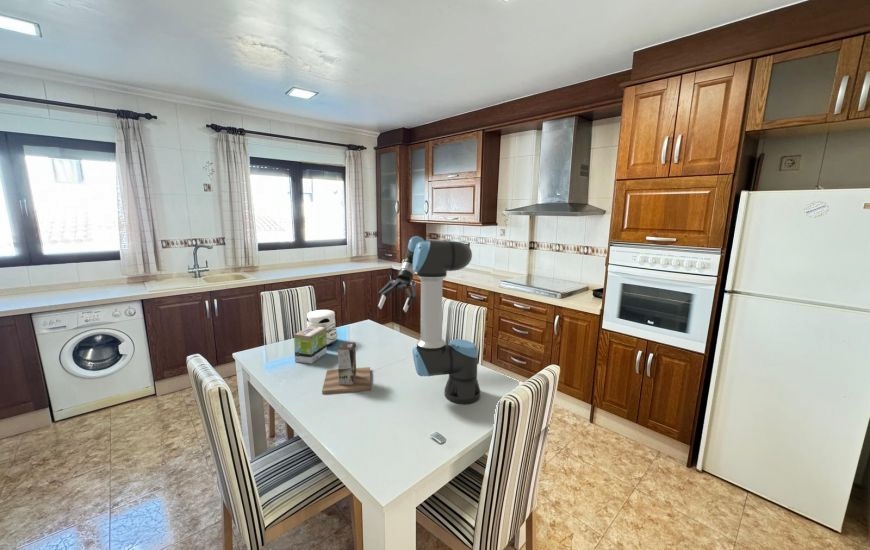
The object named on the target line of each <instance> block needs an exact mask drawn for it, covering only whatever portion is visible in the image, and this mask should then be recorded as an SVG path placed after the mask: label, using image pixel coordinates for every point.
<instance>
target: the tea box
mask: <svg viewBox="0 0 870 550" xmlns="http://www.w3.org/2000/svg"><path fill="white" fill-rule="evenodd" d="M293 339H294V340H293V341H294V342H293V343H294V345H293V346H294V347H293V348H294V362H295V363H302V364H313V363H314V362H316V361H317V360H318V359H320V358H321V357H322V356H324V355H326V354H327V350H328V349H327V346H326V328H325V327H315V326H309V327H307V326H306V327H305V328H303V329H302V330H300V331H298V332H296V333H295V334H294V336H293Z"/></svg>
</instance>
